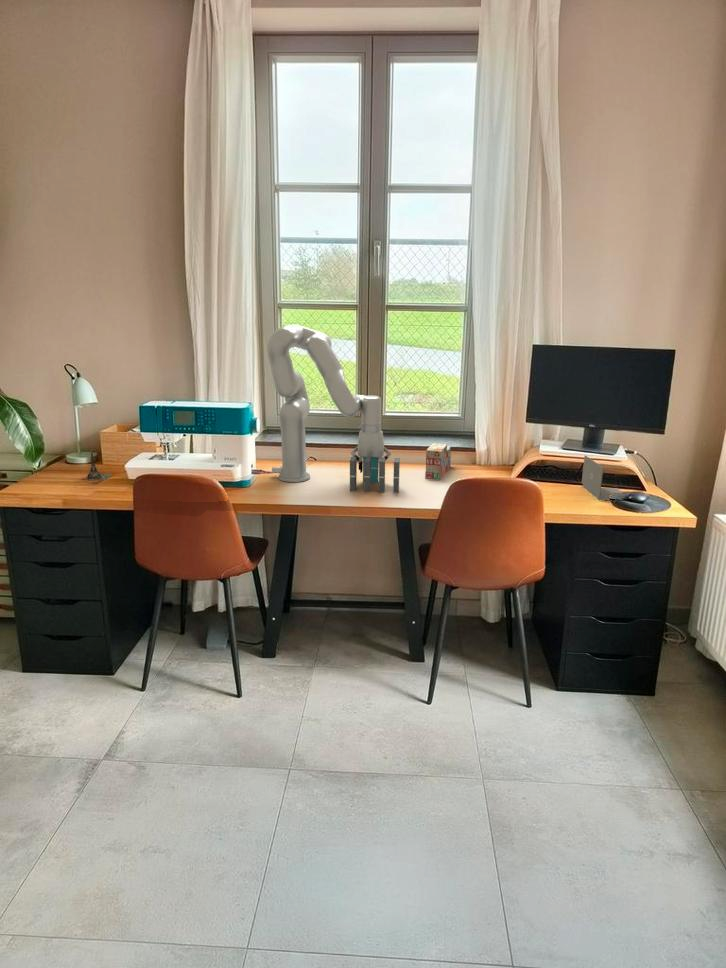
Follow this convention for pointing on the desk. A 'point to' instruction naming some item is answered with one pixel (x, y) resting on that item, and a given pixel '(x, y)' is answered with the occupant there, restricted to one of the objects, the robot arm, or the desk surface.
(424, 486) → the desk surface
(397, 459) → the domino
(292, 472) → the robot arm
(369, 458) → the domino
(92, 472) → the eiffel tower figurine
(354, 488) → the domino
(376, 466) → the teal domino
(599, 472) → the laptop
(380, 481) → the domino
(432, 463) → the stack of blocks
